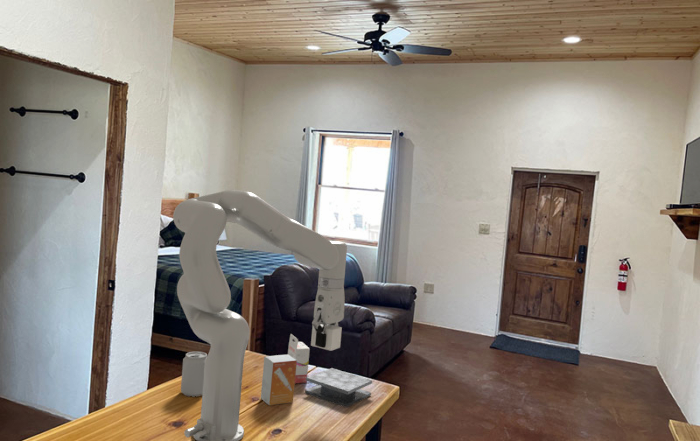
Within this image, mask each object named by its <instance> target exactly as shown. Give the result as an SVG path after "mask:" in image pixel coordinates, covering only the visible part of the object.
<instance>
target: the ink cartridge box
mask: <svg viewBox="0 0 700 441" xmlns="http://www.w3.org/2000/svg"><path fill="white" fill-rule="evenodd" d="M310 350H311V349H310V347H308V345H306V344H305V343H304V342H303V341H299V338H297V337H296V336H294V335H293V334H292V333H290V335H289V342H288V349H287V354H288V355H290V356H291V357H293V358H294V359H296V360H297V365H296V375H295V384H305V383H308V381H306V377H308V372H309V358H310Z"/></svg>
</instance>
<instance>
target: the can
mask: <svg viewBox="0 0 700 441" xmlns="http://www.w3.org/2000/svg"><path fill="white" fill-rule="evenodd" d="M207 355H208V354H207V353H206V352H203V351H189V352H187V353H185V357H184V358H183V359H182V368H181V369H182V370H181V384H180V392H181V393H182V394H183V395H184V396H186V397H190V396H192V398H196V397H200V396H201V397H202V394H203V381H204V367H205V361H206V358H207ZM195 396H196V397H195Z"/></svg>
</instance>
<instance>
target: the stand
mask: <svg viewBox="0 0 700 441" xmlns="http://www.w3.org/2000/svg"><path fill="white" fill-rule="evenodd" d="M306 381H307V382H310V383H312V384H316V385H314V386H312V387H309V388H306V389H305V390H304V394H307V395H310V396H312V397H316V398H318V399H320V400H324V401H326V402H330V403H333V404H335V405H337V406H341V407H345V408H349V407H350V406H352V405H355V404H356V403H359V402H360V400H361V401H363V400H365V399H367V398H369V397H371V396H372V392H371V391H367V390H364V389H363V388H364V387H365V388H366V387H367V386H369V385H371V384H373V380H372V379H369V378H366V377H362V376H359V375H357V374H353V373H349V372H346V371H342V370H340V369H337V368H333V367H331V368H328V369H325V370H323V371H320V372H317V373H314V374H312V375H309V376H307V377H306ZM370 395H371V396H370ZM368 396H369V397H368ZM366 397H367V398H366ZM364 398H365V399H364ZM362 399H363V400H362Z"/></svg>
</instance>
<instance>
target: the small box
mask: <svg viewBox="0 0 700 441" xmlns="http://www.w3.org/2000/svg"><path fill="white" fill-rule="evenodd" d="M296 365H297V360H296V359H294V358H293V357H291V356H290V355H288V353H287V354H278V355H277V354H276V355H268V356H266V355H265V356H264V358H263V369H262V380H261V390H260V392H261V393H260V399H261V400H263V402H265V403H266V404H267V405H268V406H275V405H279V404H280V405H282V404H289V403H290V404H291V403H293V402H294V395H295V385H296V383H295V375H296Z"/></svg>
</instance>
